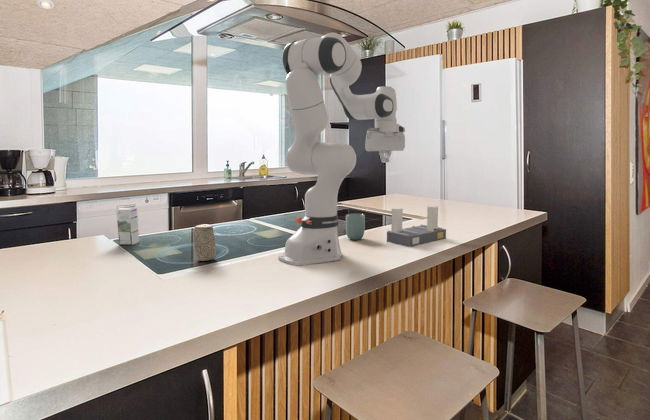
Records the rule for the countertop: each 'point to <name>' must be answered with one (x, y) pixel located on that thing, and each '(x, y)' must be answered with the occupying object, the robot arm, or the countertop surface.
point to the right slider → (432, 217)
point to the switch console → (416, 235)
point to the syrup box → (127, 225)
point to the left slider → (396, 219)
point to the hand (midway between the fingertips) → (385, 162)
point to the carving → (204, 242)
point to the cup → (355, 226)
